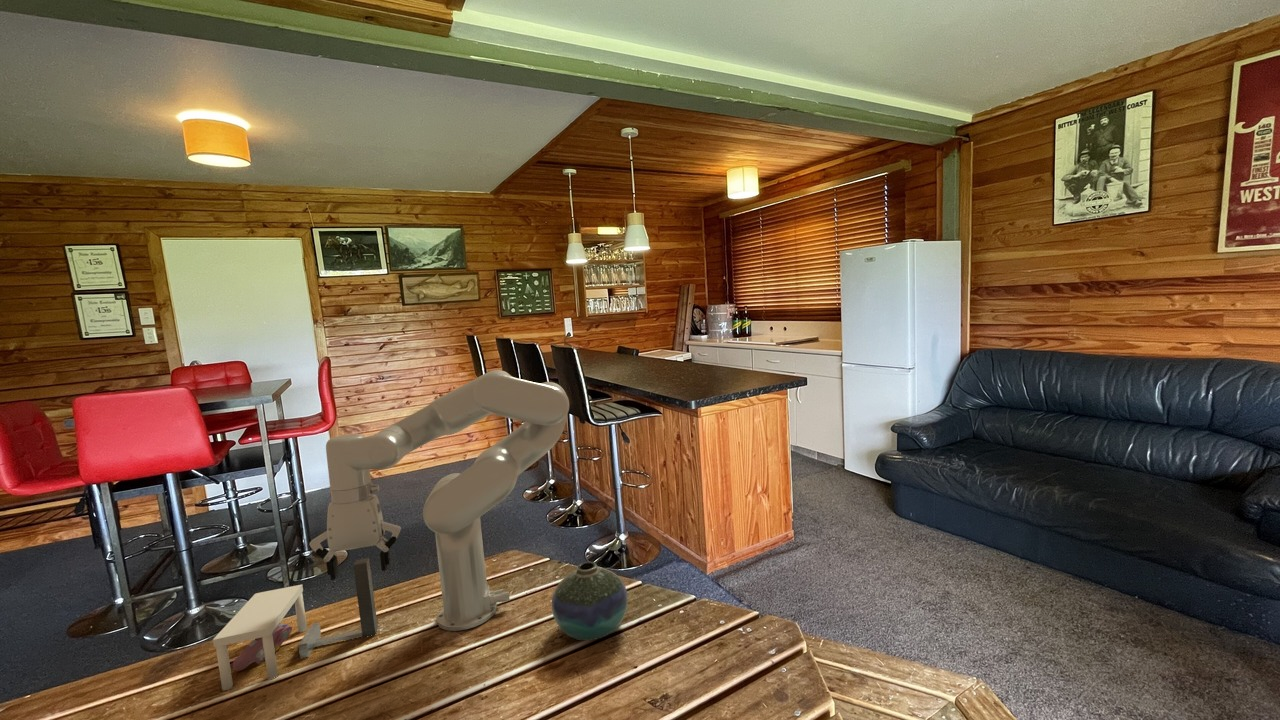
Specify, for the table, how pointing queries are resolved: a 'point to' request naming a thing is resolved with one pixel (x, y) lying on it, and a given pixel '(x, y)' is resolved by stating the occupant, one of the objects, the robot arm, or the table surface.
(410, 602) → the table surface
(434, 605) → the table surface
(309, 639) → the scraper
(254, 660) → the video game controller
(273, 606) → the low stool
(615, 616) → the vase
